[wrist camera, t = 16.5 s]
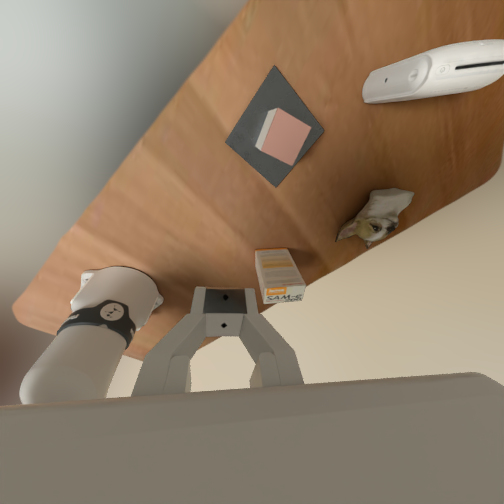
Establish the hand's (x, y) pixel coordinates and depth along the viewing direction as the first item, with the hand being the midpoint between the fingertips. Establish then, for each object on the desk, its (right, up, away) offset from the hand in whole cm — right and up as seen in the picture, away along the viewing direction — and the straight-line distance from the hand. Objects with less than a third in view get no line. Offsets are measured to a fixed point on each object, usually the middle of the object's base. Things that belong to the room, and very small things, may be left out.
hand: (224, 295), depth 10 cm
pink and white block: (+5, +22, +21) cm, 30 cm away
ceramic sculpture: (+28, +11, +32) cm, 44 cm away
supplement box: (+6, +1, +36) cm, 37 cm away
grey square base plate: (+5, +22, +21) cm, 31 cm away
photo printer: (+24, +29, +19) cm, 42 cm away
